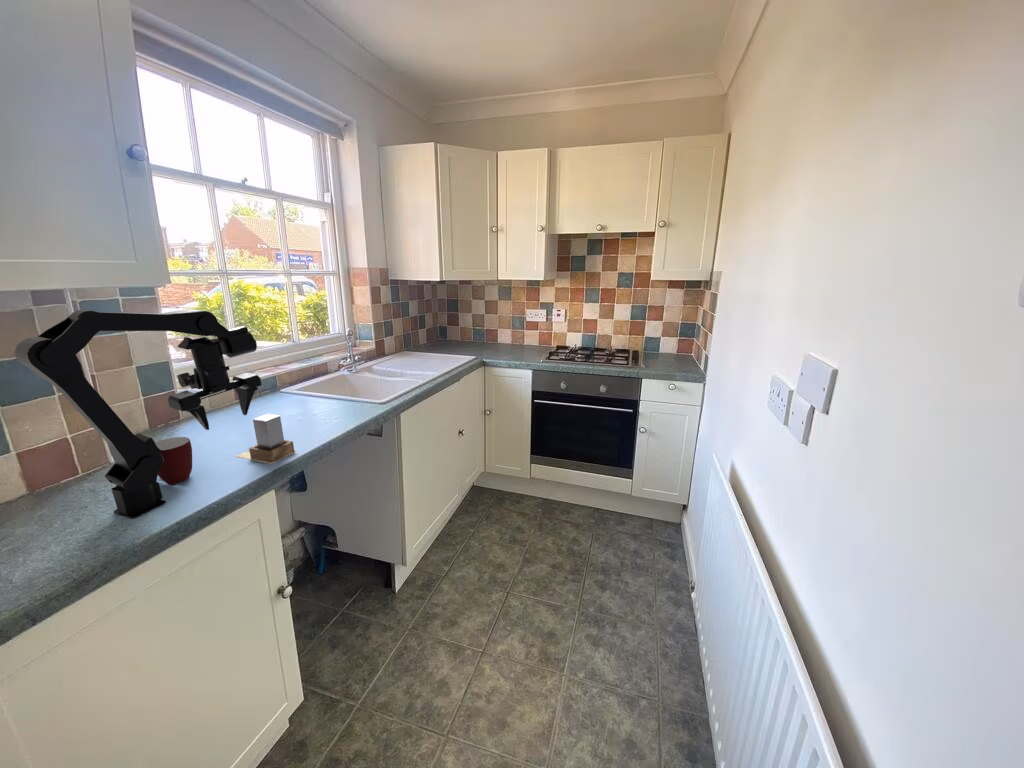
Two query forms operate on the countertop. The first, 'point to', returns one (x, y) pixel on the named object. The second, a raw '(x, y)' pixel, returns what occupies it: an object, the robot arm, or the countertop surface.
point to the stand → (268, 453)
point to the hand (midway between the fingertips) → (226, 421)
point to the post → (268, 431)
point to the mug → (175, 459)
